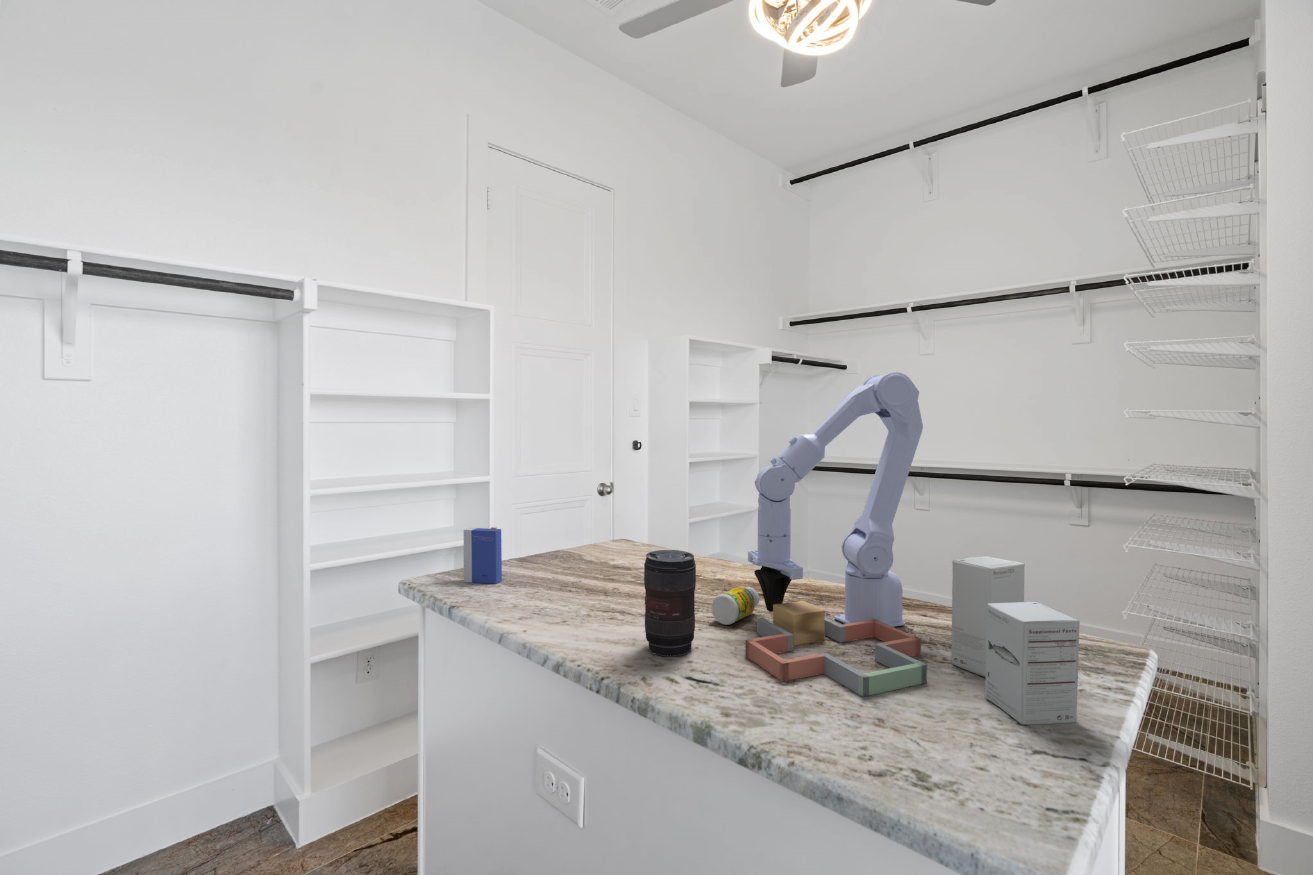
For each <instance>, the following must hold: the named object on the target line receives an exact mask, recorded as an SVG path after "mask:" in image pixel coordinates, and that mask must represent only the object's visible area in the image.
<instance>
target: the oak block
mask: <svg viewBox="0 0 1313 875" xmlns="http://www.w3.org/2000/svg"><path fill="white" fill-rule="evenodd" d="M825 613H826V611H825V609H822V608H820V607H817V606H815V605H814V604H811V603H809V602H807V601H805V600H798V601H791V602H783V603H782V604H774V605H773V612H772V623H773V624H775V625H776V626H778V627H780V628H782V629H784V630H785V631H787V632H789V633H791V634H793V646H797V645H804V644H809V643H816V642H822V641H825V636H826V635H825V617H826V615H825Z"/></svg>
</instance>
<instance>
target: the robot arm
mask: <svg viewBox="0 0 1313 875" xmlns="http://www.w3.org/2000/svg"><path fill="white" fill-rule="evenodd" d="M919 395H920V391H919V389H918V387H917V386H916V385H915V383H914V382H913V381H912V380H911V378H910V377H909V376H908V375H907V374H905V373H902V372H899V371H893V372H892V371H891V372H888V373H886V374H882V375H880V374H879V375H877V374H876V375H873V376H870V377H868V378H867V379H866V380H864V382H863V384H861V385H859V386H857V387H856V388H855V389H853V391H852V392H850V393H849V394H848V395H847V396H846V397H845V398H844V399H843V400H842V401H841V403H840V404H838V406H837V407H835V409H834V410H833V411H832V412H831V413H830V414H829V415H828V416H826V418H825V419H824V420H823V421H822V423H820V424H819V425H818V426H817V428H816V429H815V430H813V432H812V433H810V434H807V433H806V434H805V433H803V434H799V435H798V436H792V437H791V438H790V439H789V441H788V442H789V445H788V446H787V447H786V448H785V449H784V450H783V451H781V453H780V454H779V455H778V456H777V457H772V458H771V459H770V460H769V462H770V464H772V465H768V466H765V467H763V468H761V469H760V471H759V472H758V473H757V475H756V476H757V477H756V479H755V480H754V486H755V488H756V491H757V492H759V493H758V498H757V499H758V500H757V502H758V507H757V550H749V551H747V562H749V563H751V564H752V565H754V566H756V567H757V566H758V567H760V566H761V567H760V568H759V569H754V575H755V577H756V580H757V581H758V583H759V585H760V586H759V587H760V589H761V593H762V595H763V596H762V597H763V600H764V605H765V608H766V611H767V612H770V613H773V605H774V604H782V603H784V599H785V595H786V591H787V590H788V587H789V586H790V583H792V581H796V580H803V578H804V567H802V566H800V565H799V564H798V563H796V562H795V561H794V560H793V559H792V558H791V535H792V534H791V518H792V517H791V515H792V514H791V512H792V510H791V496H792V495H793V494H794V491H795V489H796V483H800V481H801V480H803V478H805V476H806V477H807V475H808V474H809V473H810V472H811V471H813V469H814V468H815V467H816V466H817V465H818V464H819V463H820V462H821V461H822V460H824V458H825V457H826V456H825V455H826V454H825V453H826V452H825V451H826V446H827V445H830V443H831V442H832V441H833V440H835V439H836V438H837V437H838V436H839V435H840V434H841V433H843V432H844V430H846V428H848V427H849V426H850V425H851V424H852V423H853V422H855V421H856V420H857V419H858V418H859V417H861V416H867V415H869V414H876V415H877V416H878V417H879V419H880V420H881V421H882V423H883V425H884V426H885V428H886V429H887V431H888V432H887V436H886V439H885V443H884V445H883V447H882V448H883V449H882V452H881V454H880V457H879V460H878V463H877V467H876V470H875V473H874V476H873V479H872V483H871V485H870V488H869V492H868V495H867V497H866V501H865V505H864V507H863V510H862V513H861V515H860V516H859V517H858V518H857V519H856V520H855V522H854V523H853V527H852V529H851V531H850V532H849V533H848V534H847V535H846V536H845V538H844V539H843V541H842V545H841V553H842V555H843V557H844V558H845V559H846V561H847V563H846V565H845V566H846V567H845V568H844V571H845V572H844V575H845V578H844V613H842V614H837V615H833V618H834V619H835V620H836V621H838V622H840V623H843V624H848V623H854V622H861V621H867V620H873V619H875V620H878V621H880V622H883V623H885V624H887V625H890V626H892V627H894V628H896V627H901V626H902V627H903V626H906V624H907V623H906V621H904V620H903V585H902V581H901V580H900V578H899V576H898V575H897V574H896V573H895V572H894V571H891V570H890V569H891V568H892V567H893V563H894V554H893V546H894V543H895V534H894V528H893V522H894V519H895V517H896V513H897V510H898V507H899V504H900V501H901V497H902V494H903V492H904V489H905V485H906V483H907V480H908V476H909V474H910V470H911V466H912V464H913V461H914V457H915V455H916V452H917V449H918V446H919V442H920V439H921V436H922V433H923V428H924V427H923V425H924V424H923V420H922V415H921V414H922V413H921V410H920V405H919Z"/></svg>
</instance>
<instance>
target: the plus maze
mask: <svg viewBox="0 0 1313 875" xmlns="http://www.w3.org/2000/svg"><path fill="white" fill-rule="evenodd" d="M756 633H757V634H758V635H760V636H761V637H754V638H747V639H745V643H744V644H745V646H744V647H745V650H744V653H745V654H744V656H745V657H747V658H748V659H749V660H751V661H752V662H753V663H755V664H756V665H758V666H760V668H762V669H763V670H765V671H766V672H769V673H770V674H771V675H772V676H774V677H775V678H777V679H779V681H781V682H786V681H787V682H788V681H792V680H798V679H802V678H806V677H807V678H808V677H814V676H818V675H823V674H824V675H826V676H828V677H829V678H831V679H833V680H835V681H836V682H838V683H839V684H841V685H843V686H844V687H846V688H847V689H849V690H851V691H853V692H854V693H856V694H858V695H859V696H861V697H868V696H872V695H876V694H881V693H887V692H891V691H895V690H899V689H900V690H901V689H905V688H909V686H910V687H914V686H918V685H923V683H924V684H928V681H927V680H928V664H926V663H924V662H922V661H920V660H918V659H916V658H913V657H915V656H917V657H918V656H920V655H921V654H922V653H921V649H922V648H921V646H922V639H921V637H918V636H915V635H913V634H910V633H908V632H906V631H904V630H901V629H899V628H896V627H892V626H890V625H887V624H885V623H883V622H880V621H878V620H875V619H873V620H867V621H861V622H854V623H848V624H845V623H843V624H840V623H838V622H836V621H834V620H832V619H829V618H828V617H826V616H825V636H826V637H829V638H830V639H832V640H834V641H836V642H837V643H845V642H851V641H856V640H863V639H869V638H876V639H878V640H880V641H883V642H879V643H874V661H875V662H877V663H879V664H881V665H883V666H885V667H887V668H885V669H881V670H876V671H875V670H874V671H870V672H865V673H863V672H862V671H860V670H859V669H856V668H855V667H853V666H851V665H849V664H847V663H845V662H844V661H842V660H840V659H838V658H836V657H834V656H833V655H831V654H830V653H827V652H822V653H816V654H810V655H805V656H800V657H794V658H789V659H788V658H787V659H784V658H782V657H781V656H779V655H778V654H781V653H787V652H793V651H794V645H793V634H791V633H789V632H787V631H785V630H784V629H782V628H780V627H778V626H776V625H775V624H773V622H771V621H769V620H767V619H766V618H763V617H758V618H756Z"/></svg>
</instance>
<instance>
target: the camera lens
mask: <svg viewBox="0 0 1313 875" xmlns="http://www.w3.org/2000/svg"><path fill="white" fill-rule="evenodd" d="M645 556H646V557H645V561H644V564H643V565H644V567H643V570H644V571H643V572H644V573H643V574H644V575H643V579H644V580H643V581H644V582H643V583H644V589H645V592H644V593H645V596H644V610H645V612H644V632H645V640H646V641H647V642H648V650H649V651H650V653H652V654H654V655H657V656H662V657H680V656H683V655H686V654H688V653H690V651H692V645H693V644H692V643H693V641H694V638H695V629H696V613H695V612H696V611H695V610H696V609H695V604H696V602H695V600H696V599H695V596H696V595H695V594H696V592H695V591H696V586H697V582H696V581H697V573H696V572H697V570H696V569H697V565H696V561H695V555H694V554H693V553H691V552H689V551H685V550H679V549H658V550H651V551H650V552H648V553H646V555H645Z"/></svg>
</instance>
